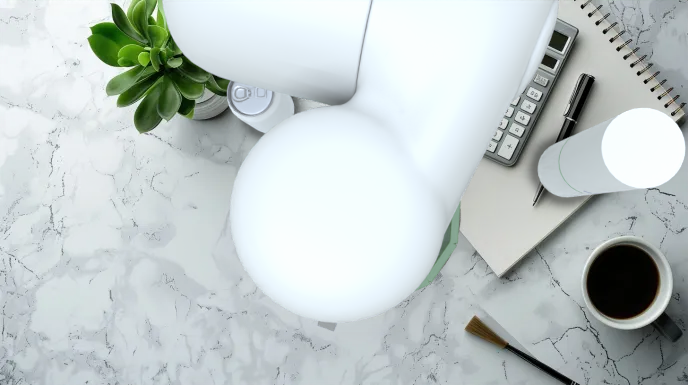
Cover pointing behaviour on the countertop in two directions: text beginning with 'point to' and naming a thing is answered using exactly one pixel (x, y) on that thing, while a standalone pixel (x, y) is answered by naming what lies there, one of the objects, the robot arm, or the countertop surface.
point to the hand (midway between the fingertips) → (370, 215)
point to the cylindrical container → (615, 155)
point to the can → (259, 105)
